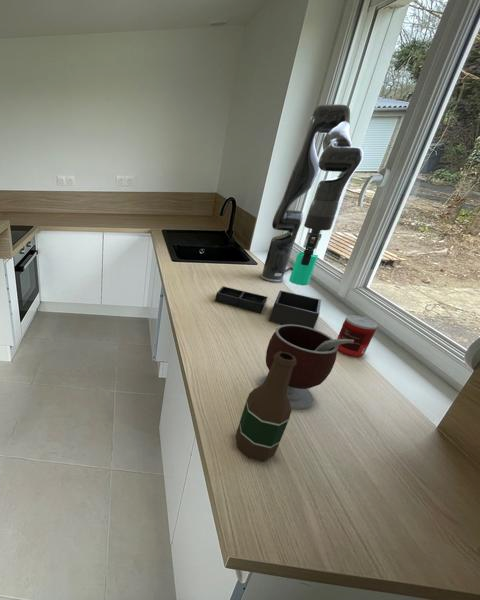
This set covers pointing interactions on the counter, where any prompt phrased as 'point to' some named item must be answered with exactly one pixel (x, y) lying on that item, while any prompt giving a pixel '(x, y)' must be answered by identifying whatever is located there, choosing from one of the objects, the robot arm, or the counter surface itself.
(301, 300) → the black open box
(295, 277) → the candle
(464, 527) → the counter surface
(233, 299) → the black divided tray
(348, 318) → the canned food
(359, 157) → the robot arm
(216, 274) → the counter surface
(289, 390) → the mate gourd
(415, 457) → the counter surface
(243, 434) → the beer bottle
